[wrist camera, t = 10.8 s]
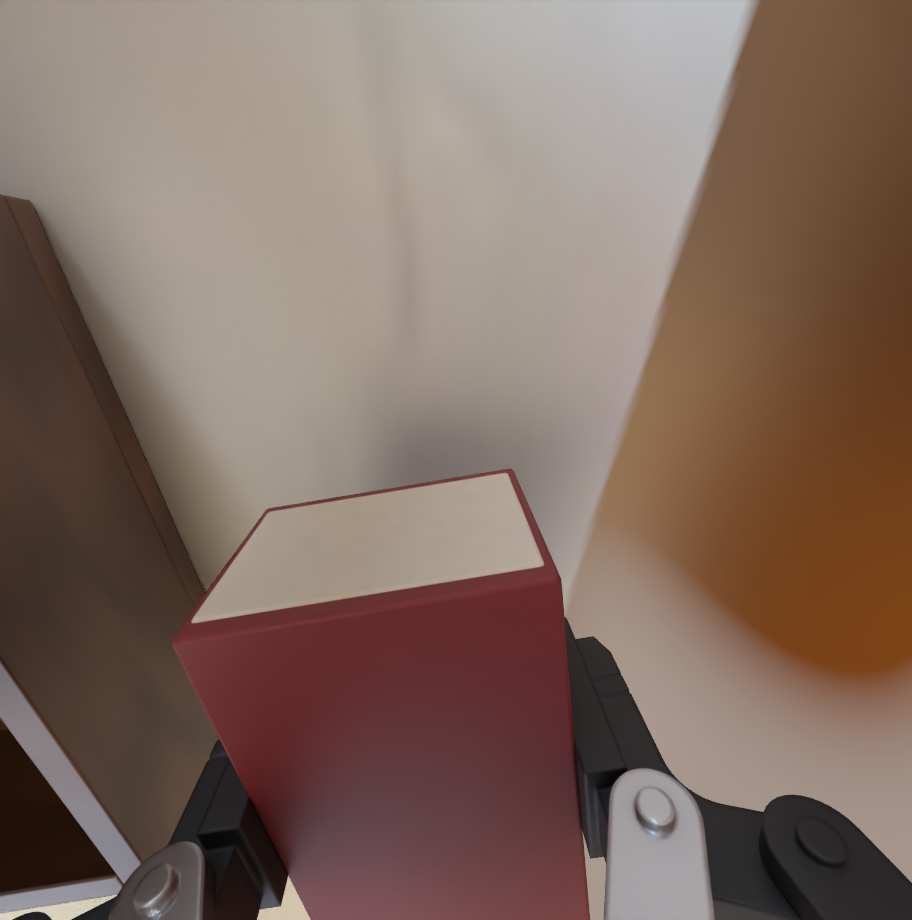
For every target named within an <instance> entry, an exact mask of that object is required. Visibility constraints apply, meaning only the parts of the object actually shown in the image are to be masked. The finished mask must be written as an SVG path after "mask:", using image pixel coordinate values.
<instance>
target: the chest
mask: <svg viewBox="0 0 912 920" xmlns="http://www.w3.org/2000/svg"><path fill="white" fill-rule="evenodd" d="M204 595H205V593H204V591H203V588H202V586H201V584H200V582H199V579H198V577H197V575H196V573H195V570H194V568H193V566H192V564H191V561H190V559H189V557H188V555H187V552H186V550H185V548H184V546H183V543H182V541H181V539H180V537H179V534H178V532H177V530H176V528H175V525H174V523H173V521H172V519H171V516H170V514H169V512H168V510H167V507H166V505H165V503H164V501H163V498H162V496H161V494H160V492H159V489H158V487H157V485H156V483H155V480H154V478H153V476H152V474H151V471H150V469H149V467H148V465H147V462H146V460H145V458H144V455H143V453H142V451H141V449H140V446H139V444H138V442H137V440H136V437H135V435H134V433H133V431H132V428H131V426H130V424H129V422H128V419H127V417H126V415H125V413H124V410H123V408H122V406H121V404H120V401H119V399H118V397H117V395H116V392H115V390H114V388H113V386H112V383H111V381H110V379H109V377H108V374H107V372H106V370H105V368H104V365H103V363H102V361H101V359H100V356H99V354H98V352H97V350H96V347H95V345H94V343H93V341H92V338H91V336H90V334H89V332H88V329H87V327H86V325H85V323H84V320H83V318H82V316H81V314H80V311H79V309H78V307H77V305H76V302H75V300H74V298H73V296H72V293H71V291H70V289H69V287H68V284H67V282H66V280H65V278H64V275H63V273H62V271H61V269H60V266H59V264H58V262H57V259H56V257H55V255H54V253H53V250H52V248H51V246H50V244H49V241H48V239H47V237H46V235H45V232H44V230H43V228H42V226H41V223H40V221H39V219H38V217H37V214H36V212H35V210H34V208H33V205H32V203H31V202H30V201H29V200H25V199H20V198H15V197H10V196H5V195H1V194H0V913H5V912H11V911H18V910H24V909H30V908H36V907H43V906H49V905H55V904H61V903H68V902H74V901H80V900H87V899H93V898H99V897H105V896H112V895H118V893H119V891H120V889H121V888H122V886H123V885H124V883H125V882H126V881H127V879H128V878H129V877H130V875H131V874H132V873H133V872H134V871H135V870H136V869H137V868H138V867H139V865H141V864H142V863H143V862H144V861H145V860H146V859H147V858H149V857H150V856H151V855H152V854H154V853H155V852H157V851H158V850H160V849H162V848H163V847H166V846H167V845H168V843H169V841H170V839H171V837H172V835H173V833H174V831H175V829H176V826H177V824H178V822H179V820H180V818H181V816H182V814H183V811H184V809H185V807H186V805H187V803H188V801H189V799H190V796H191V794H192V792H193V790H194V788H195V786H196V784H197V781H198V779H199V777H200V775H201V773H202V771H203V769H204V766H205V764H206V762H207V761H209V759H210V754H211V751H212V749H213V747H214V745H215V743H216V741H218V740H219V737H218V735H217V733H216V731H215V729H214V727H213V725H212V723H211V721H210V719H209V717H208V715H207V713H206V711H205V709H204V707H203V705H202V703H201V701H200V699H199V697H198V695H197V693H196V691H195V689H194V687H193V685H192V683H191V681H190V679H189V677H188V675H187V673H186V672H185V670H184V668H183V666H182V664H181V662H180V660H179V658H178V656H177V654H176V652H175V650H174V648H173V646H172V640H173V637H174V636H175V635H176V633H177V632H178V631H179V629H180V628H181V626H182V625H183V624H184V622H185V621H186V620H187V618H188V617H189V615H190V614H191V613H192V611H193V610H194V609H195V607H196V606H197V604H198V603H199V602H200V600H201V599H202V598H203V596H204Z"/></svg>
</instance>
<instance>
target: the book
mask: <svg viewBox="0 0 912 920" xmlns="http://www.w3.org/2000/svg"><path fill="white" fill-rule="evenodd" d="M172 646H173V648H174V650H175V652H176V654H177V656H178V658H179V660H180V662H181V664H182V666H183V668H184V670H185V672H186V673H187V675H188V677H189V679H190V681H191V683H192V685H193V687H194V689H195V691H196V693H197V695H198V697H199V699H200V701H201V703H202V705H203V707H204V709H205V711H206V713H207V715H208V717H209V719H210V721H211V723H212V725H213V727H214V729H215V731H216V733H217V735H218V737H219V739H220V741H221V743H222V745H223V747H224V749H225V751H226V753H227V755H228V757H229V759H230V761H231V762H232V764H233V766H234V768H235V770H236V772H237V774H238V776H239V778H240V780H241V782H242V784H243V786H244V788H245V790H246V792H247V794H248V796H249V797H250V799H251V801H252V803H253V805H254V807H255V809H256V811H257V813H258V815H259V817H260V819H261V821H262V823H263V825H264V827H265V829H266V831H267V833H268V835H269V837H270V839H271V841H272V843H273V845H274V847H275V849H276V851H277V853H278V855H279V857H280V859H281V861H282V863H283V865H284V867H285V869H286V870H287V872H288V875H289V877H290V879H291V881H292V883H293V885H294V887H295V889H296V891H297V893H298V895H299V897H300V899H301V901H302V903H303V905H304V907H305V909H306V911H307V913H308V915H309V917H310V919H311V920H590V914H589V903H588V890H587V878H586V868H585V856H584V844H583V831H582V826H581V814H580V802H579V791H578V779H577V767H576V755H575V737H574V725H573V714H572V702H571V690H570V678H569V667H568V655H567V643H566V631H565V620H564V608H563V596H562V584H561V578H560V575H559V573H558V571H557V569H556V566H555V564H554V562H553V560H552V557H551V555H550V553H549V550H548V548H547V546H546V544H545V541H544V539H543V537H542V534H541V532H540V530H539V528H538V525H537V523H536V521H535V519H534V516H533V514H532V512H531V509H530V507H529V505H528V503H527V500H526V498H525V496H524V494H523V491H522V489H521V487H520V484H519V482H518V480H517V478H516V475H515V473H514V471H513V470H512V469H505V470H499V471H493V472H487V473H481V474H475V475H469V476H463V477H457V478H451V479H445V480H439V481H432V482H426V483H420V484H414V485H408V486H402V487H396V488H390V489H384V490H378V491H372V492H366V493H360V494H354V495H348V496H342V497H336V498H330V499H324V500H318V501H312V502H305V503H299V504H293V505H287V506H281V507H275V508H269V509H267V510H266V511H265V512H264V514H263V515H262V516H261V518H260V519H259V521H258V522H257V523H256V525H255V526H254V527H253V529H252V530H251V532H250V533H249V534H248V536H247V537H246V538H245V540H244V541H243V543H242V544H241V545H240V547H239V548H238V549H237V551H236V552H235V554H234V555H233V556H232V558H231V559H230V560H229V562H228V563H227V565H226V566H225V567H224V569H223V570H222V571H221V573H220V574H219V576H218V577H217V578H216V580H215V581H214V582H213V584H212V585H211V587H210V588H209V589H208V591H207V592H206V593H205V595H204V596H203V598H202V599H201V600H200V602H199V603H198V604H197V606H196V607H195V609H194V610H193V611H192V613H191V614H190V615H189V617H188V618H187V620H186V621H185V622H184V624H183V625H182V626H181V628H180V629H179V631H178V632H177V633H176V635H175V636H174V637H173V640H172Z"/></svg>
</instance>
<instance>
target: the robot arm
mask: <svg viewBox="0 0 912 920" xmlns="http://www.w3.org/2000/svg"><path fill="white" fill-rule="evenodd" d="M564 620H565V631H566V643H567V655H568V667H569V678H570V690H571V702H572V714H573V725H574V737H575V755H576V767H577V779H578V791H579V802H580V814H581V826H582V830H583V834H584V837H585V841H586V844H587V848H588V852H589V855H590V858H598V857H604V858H605V862H606V882H605V902H604V920H912V883H911V882H910V881H909V880H908V879H907V878H906V877H905V876H904V875H903V874H902V872H901V871H900V870H899V869H898V868H897V867H896V866H895V865H894V864H893V863H892V862H891V861H890V860H889V859H888V858H887V857H886V856H885V855H884V854H883V853H882V852H881V851H880V850H879V849H878V848H877V847H876V846H875V845H874V844H873V843H872V842H871V841H870V840H869V839H868V838H867V837H866V836H865V835H864V834H863V832H861V831H860V829H859V828H857V827H856V826H855V825H854V824H853V823H852V822H851V821H850V820H849V819H848V818H846V817H845V816H844V815H842V814H841V813H840V812H838V811H836V810H835V809H833V808H832V807H830V806H828V805H826V804H824V803H822V802H820V801H817V800H815V799H812V798H808V797H805V796H799V795H784V796H781V797H777V798H776V799H774V800H772V801H771V802H770V803H769V804H768V805H767V806H766V808H765V810H764V812H760V811H755V810H749V809H745V808H739V807H734V806H729V805H724V804H720V803H716V802H712V801H710V800H708V799H705V798H703V797H701V796H699V795H697V794H695V793H694V792H692V791H691V790H689V789H688V788H687V787H685V786H684V785H683V784H682V783H681V782H680V781H679V780H677V778H676V777H675V776H674V775H673V774H672V773H671V771H670V770H669V769H668V767H667V766H666V764H665V762H664V760H663V758H662V756H661V754H660V752H659V750H658V748H657V746H656V744H655V742H654V740H653V738H652V736H651V734H650V732H649V730H648V728H647V726H646V724H645V722H644V720H643V717H642V715H641V713H640V711H639V710H638V707H637V705H636V703H635V701H634V699H633V697H632V695H631V694H630V693H629V689H628V687H627V685H626V683H625V681H624V679H623V677H622V676H621V673H620V670H619V668H618V666H617V664H616V662H615V660H614V658H613V656H612V654H611V652H610V651H609V650H608V649H607V648H606V647H604V646H603V645H602V644H601V643H600V642H599V641H598V640H597V639H596V638H594V637H586V638H581V639H575V637H574V635H573V632H572V630H571V627H570V625H569V623H568V620H567V619H566V617H564ZM287 878H288V872H287V870H286V869H285V867H284V865H283V863H282V861H281V859H280V857H279V855H278V853H277V851H276V849H275V847H274V845H273V843H272V841H271V839H270V837H269V835H268V833H267V831H266V829H265V827H264V825H263V823H262V821H261V819H260V817H259V815H258V813H257V811H256V809H255V807H254V805H253V803H252V801H251V799H250V797H249V796H248V794H247V792H246V790H245V788H244V786H243V784H242V782H241V780H240V778H239V776H238V774H237V772H236V770H235V768H234V766H233V764H232V762H231V761H230V759H229V757H228V755H227V753H226V751H225V749H224V747H223V745H222V743H221V741H220V739H219V740H218V741H216V743H215V745H214V747H213V749H212V751H211V754H210V759H209V761H207V762H206V764H205V766H204V769H203V771H202V773H201V775H200V777H199V779H198V781H197V784H196V786H195V788H194V790H193V792H192V794H191V796H190V799H189V801H188V803H187V805H186V807H185V809H184V811H183V814H182V816H181V818H180V820H179V822H178V824H177V826H176V829H175V831H174V833H173V835H172V837H171V839H170V841H169V843H168V845H167V846H166V847H163V848H162V849H160V850H158V851H157V852H155V853H154V854H152V855H151V856H150V857H149V858H147V859H146V860H145V861H144V862H143V863H142V864H141V865H139V867H138V868H137V869H136V870H135V871H134V872H133V873H132V874H131V875H130V877H129V878H128V879H127V881H126V882H125V883H124V885H123V886H122V888H121V889H120V891H119V893H118V895H117V896H116V897H114V898H113V899H111V900H109V901H107V902H105V903H103V904H101V905H99V906H97V907H95V908H93V909H91V910H89V911H87V912H85V913H83V914H81V915H79V916H77V917H75V918H73V919H72V920H257V917H258V913H259V909H265V908H271V907H278V906H281V903H282V899H283V895H284V891H285V886H286V882H287ZM13 920H52V919H51V918H50V917H49V916H48V915H47V914H45V913H42V912H31V913H27V914H24V915H22V916H19V917H17V918H15V919H13Z"/></svg>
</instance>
